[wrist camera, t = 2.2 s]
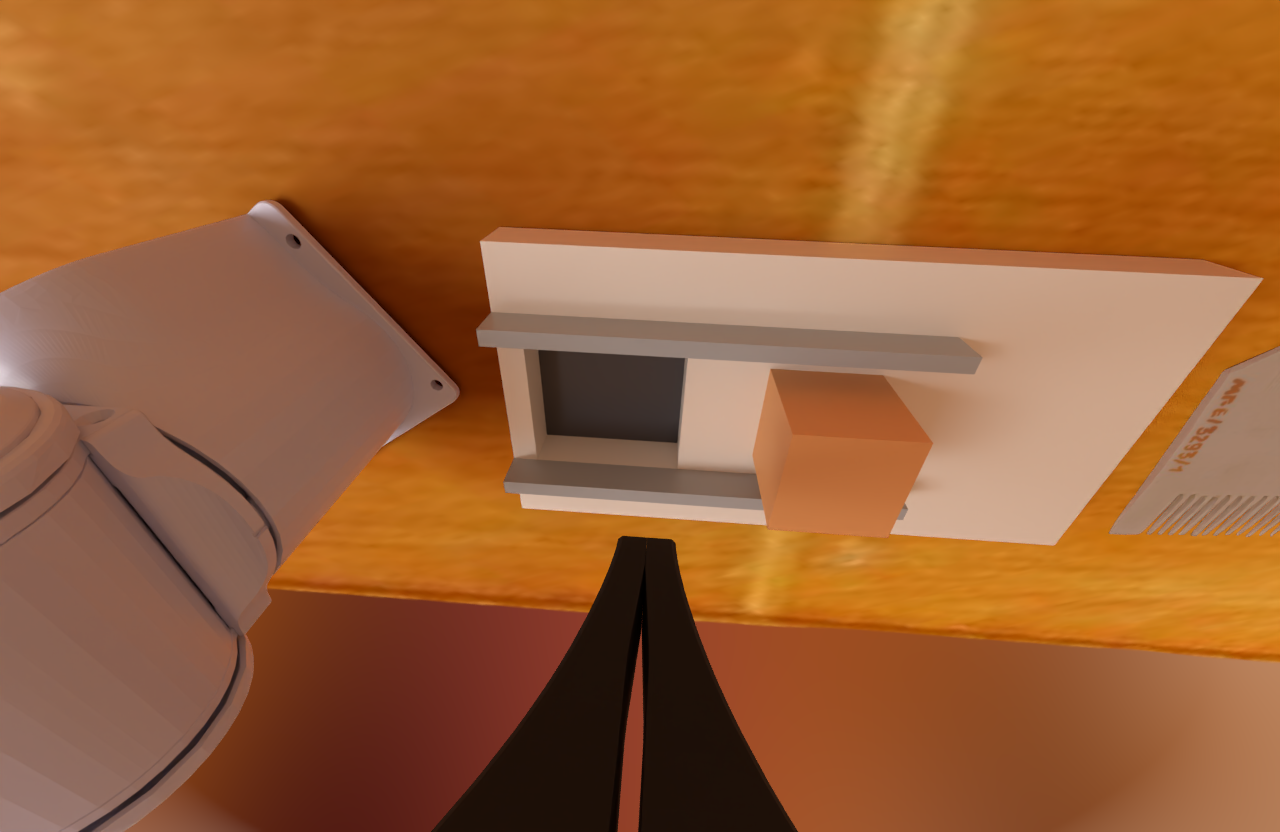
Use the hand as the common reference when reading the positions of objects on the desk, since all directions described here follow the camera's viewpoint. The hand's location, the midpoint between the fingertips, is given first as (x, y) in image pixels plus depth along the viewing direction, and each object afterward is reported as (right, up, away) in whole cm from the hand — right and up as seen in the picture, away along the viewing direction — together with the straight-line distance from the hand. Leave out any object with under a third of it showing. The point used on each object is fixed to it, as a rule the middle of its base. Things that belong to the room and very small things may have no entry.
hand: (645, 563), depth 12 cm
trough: (+7, +5, +8) cm, 11 cm away
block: (+6, +4, +6) cm, 10 cm away
